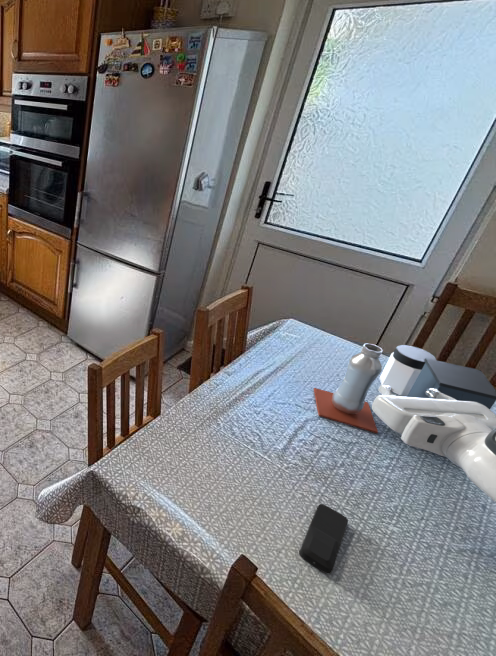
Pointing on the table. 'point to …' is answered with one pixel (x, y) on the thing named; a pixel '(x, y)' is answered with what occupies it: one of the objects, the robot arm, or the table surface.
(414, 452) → the table surface
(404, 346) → the jar
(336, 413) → the mat
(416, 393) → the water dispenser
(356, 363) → the plastic bottle
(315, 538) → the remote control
